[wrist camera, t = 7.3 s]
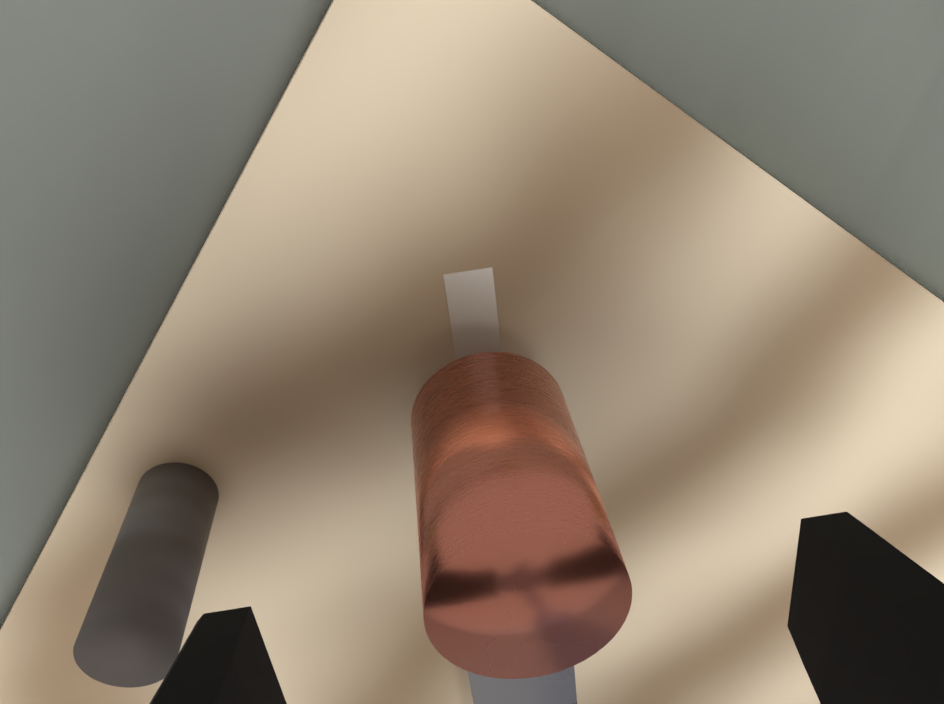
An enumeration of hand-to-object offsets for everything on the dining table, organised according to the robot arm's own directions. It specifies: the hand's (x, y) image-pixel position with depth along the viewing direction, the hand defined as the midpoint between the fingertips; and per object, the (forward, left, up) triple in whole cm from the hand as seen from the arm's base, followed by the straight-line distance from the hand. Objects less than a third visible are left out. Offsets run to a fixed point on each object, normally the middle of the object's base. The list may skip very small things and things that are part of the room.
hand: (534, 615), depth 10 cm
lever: (-4, +5, -6) cm, 9 cm away
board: (-4, +5, -7) cm, 10 cm away
